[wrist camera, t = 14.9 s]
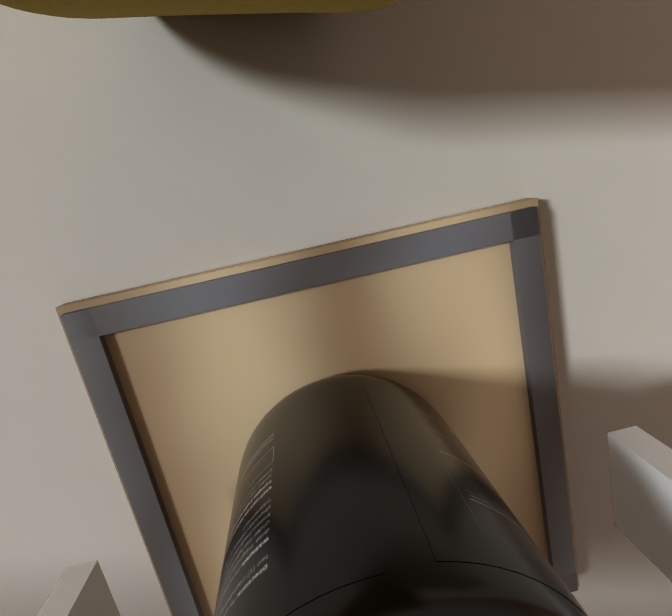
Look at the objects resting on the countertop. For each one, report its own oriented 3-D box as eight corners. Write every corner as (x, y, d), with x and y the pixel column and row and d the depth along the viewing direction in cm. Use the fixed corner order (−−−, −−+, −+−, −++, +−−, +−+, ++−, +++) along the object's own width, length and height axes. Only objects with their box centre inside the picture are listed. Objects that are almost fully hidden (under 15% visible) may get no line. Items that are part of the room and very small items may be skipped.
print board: (201, 669, 17) (196, 695, 16) (65, 303, 13) (49, 310, 13) (569, 573, 17) (583, 593, 16) (527, 198, 14) (542, 197, 13)
